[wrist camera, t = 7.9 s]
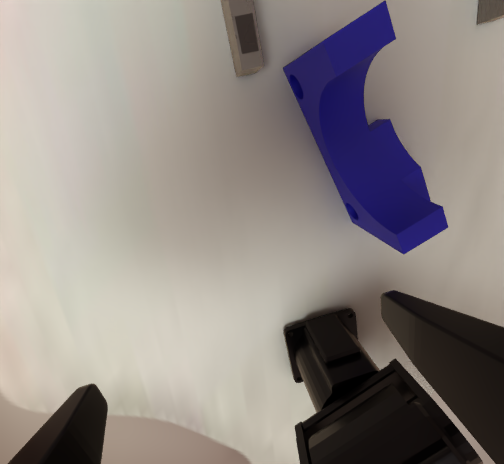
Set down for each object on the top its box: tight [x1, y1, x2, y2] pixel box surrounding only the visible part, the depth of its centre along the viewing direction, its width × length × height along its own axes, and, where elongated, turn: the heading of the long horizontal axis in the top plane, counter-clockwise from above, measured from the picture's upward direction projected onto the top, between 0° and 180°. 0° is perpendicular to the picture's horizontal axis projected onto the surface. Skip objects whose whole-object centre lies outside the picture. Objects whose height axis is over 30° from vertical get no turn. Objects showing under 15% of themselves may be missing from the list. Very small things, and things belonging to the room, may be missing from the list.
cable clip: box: [283, 1, 448, 254], centre depth 16 cm, size 12×4×6 cm, turn 31°
